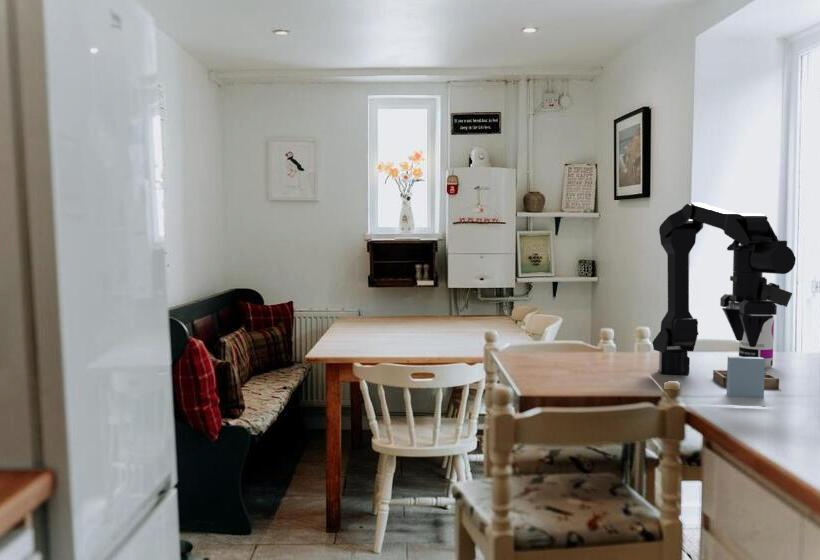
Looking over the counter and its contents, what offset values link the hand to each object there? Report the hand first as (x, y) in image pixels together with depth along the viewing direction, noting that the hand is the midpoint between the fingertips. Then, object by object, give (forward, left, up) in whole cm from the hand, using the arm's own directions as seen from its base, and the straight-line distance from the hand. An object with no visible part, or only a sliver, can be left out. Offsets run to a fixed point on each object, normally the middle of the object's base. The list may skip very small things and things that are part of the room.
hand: (745, 343), depth 147 cm
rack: (+4, +13, -12) cm, 18 cm away
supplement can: (+14, +38, -12) cm, 42 cm away
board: (0, 0, -12) cm, 12 cm away
